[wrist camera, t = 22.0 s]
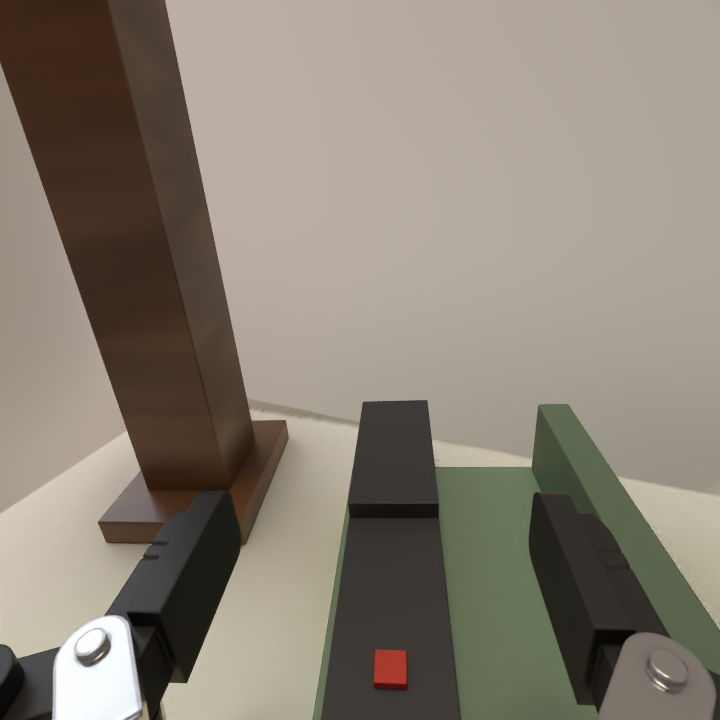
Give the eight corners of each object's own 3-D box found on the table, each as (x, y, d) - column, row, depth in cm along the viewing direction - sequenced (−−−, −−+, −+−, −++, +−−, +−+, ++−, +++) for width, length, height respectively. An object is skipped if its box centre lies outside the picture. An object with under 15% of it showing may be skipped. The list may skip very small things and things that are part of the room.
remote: (461, 763, 13) (463, 715, 12) (325, 754, 13) (316, 708, 12) (427, 432, 28) (427, 399, 27) (365, 433, 29) (362, 401, 28)
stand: (245, 545, 23) (-3, -465, 10) (105, 542, 24) (-288, -390, 11) (289, 437, 32) (187, -174, 19) (185, 438, 33) (21, -145, 20)
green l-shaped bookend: (764, 954, 11) (862, 840, 8) (298, 904, 12) (261, 791, 9) (555, 494, 25) (568, 403, 23) (355, 494, 26) (346, 407, 24)
